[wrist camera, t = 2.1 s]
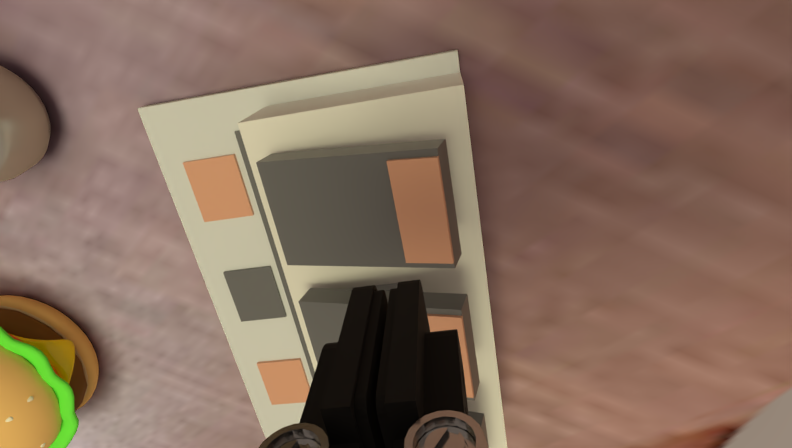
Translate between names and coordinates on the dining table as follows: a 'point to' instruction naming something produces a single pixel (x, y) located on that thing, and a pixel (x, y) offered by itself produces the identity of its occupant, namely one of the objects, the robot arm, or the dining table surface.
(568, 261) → the dining table surface
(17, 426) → the hamburger
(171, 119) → the switch board
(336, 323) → the switch middle
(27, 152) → the plastic bottle
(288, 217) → the switch
